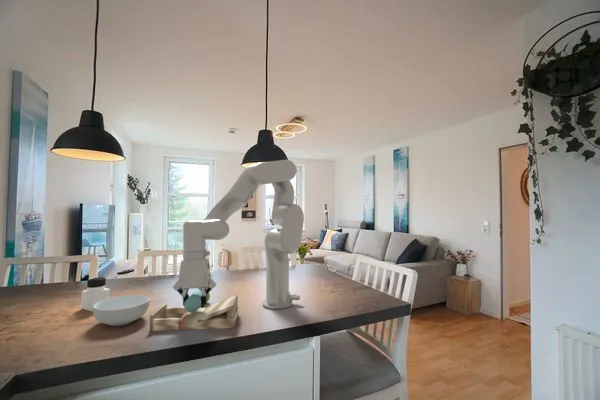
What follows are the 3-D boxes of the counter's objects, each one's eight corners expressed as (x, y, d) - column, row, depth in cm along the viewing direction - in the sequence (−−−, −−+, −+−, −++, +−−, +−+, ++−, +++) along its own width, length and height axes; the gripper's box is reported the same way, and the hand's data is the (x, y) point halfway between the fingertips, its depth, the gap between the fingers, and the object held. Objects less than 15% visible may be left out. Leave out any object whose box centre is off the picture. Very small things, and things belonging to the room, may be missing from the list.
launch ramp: (238, 314, 107) (238, 294, 107) (233, 327, 95) (234, 305, 95) (163, 317, 104) (164, 296, 104) (149, 330, 92) (150, 307, 92)
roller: (205, 304, 104) (204, 290, 104) (199, 312, 96) (199, 297, 96) (190, 304, 104) (190, 291, 104) (184, 312, 96) (184, 297, 96)
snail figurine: (207, 305, 117) (208, 276, 117) (193, 304, 118) (194, 275, 119) (214, 301, 122) (214, 273, 123) (200, 300, 123) (201, 273, 124)
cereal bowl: (106, 336, 88) (107, 313, 89) (83, 324, 97) (84, 303, 97) (158, 318, 103) (159, 299, 103) (134, 310, 111) (134, 292, 112)
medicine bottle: (110, 306, 116) (111, 276, 116) (91, 311, 109) (92, 280, 110) (99, 303, 119) (100, 275, 119) (80, 309, 112) (81, 278, 113)
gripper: (221, 252, 105) (221, 302, 104) (173, 254, 103) (173, 304, 103) (217, 256, 98) (217, 309, 97) (165, 257, 96) (165, 312, 95)
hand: (195, 306), depth 100 cm, fingers closed on roller, 5 cm apart
